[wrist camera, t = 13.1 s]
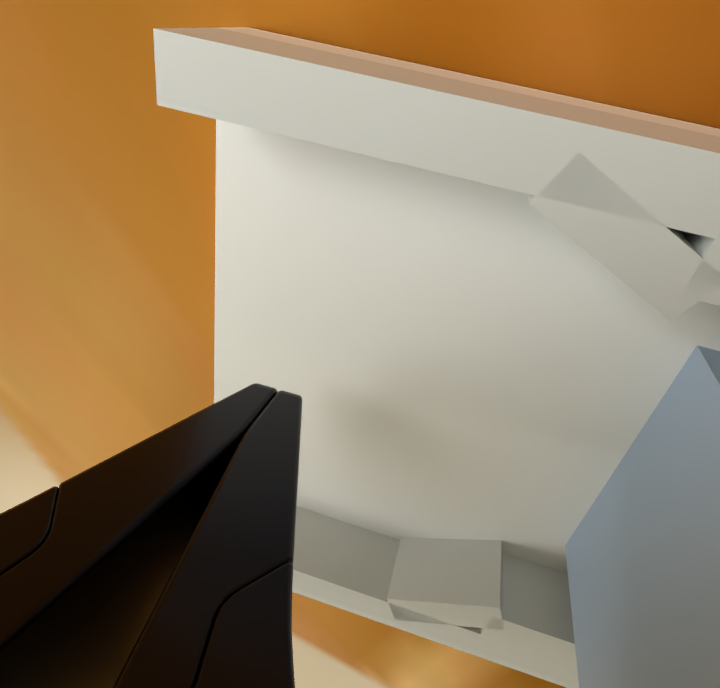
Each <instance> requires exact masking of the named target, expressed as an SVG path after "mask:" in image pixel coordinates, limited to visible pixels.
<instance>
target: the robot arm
mask: <svg viewBox="0 0 720 688" xmlns="http://www.w3.org/2000/svg"><path fill="white" fill-rule="evenodd" d="M301 417H302V397H301V396H300V395H297V394H294V393H290V392H287V391H283V390H281V391H277V390H276V389H275V388H273V387H269V386H266V385H262V384H259V383H254V384H251V385H249V386H247V387H245V388H244V389H242V390H240V391H238V392H236V393H234V394H232V395H230V396H228V397H226V398H224V399H222V400H220V401H218V402H217V403H215V404H213V405H211V406H209V407H207V408H205V409H203V410H201V411H199V412H197V413H195V414H193V415H191V416H190V417H188V418H186V419H184V420H182V421H180V422H178V423H176V424H174V425H172V426H170V427H168V428H166V429H164V430H163V431H161V432H159V433H157V434H155V435H153V436H151V437H149V438H147V439H145V440H143V441H141V442H139V443H137V444H136V445H134V446H132V447H130V448H128V449H126V450H124V451H122V452H120V453H118V454H116V455H114V456H112V457H110V458H109V459H107V460H105V461H103V462H101V463H99V464H97V465H95V466H93V467H91V468H89V469H87V470H85V471H83V472H82V473H80V474H78V475H76V476H74V477H72V478H70V479H68V480H66V481H64V482H62V483H61V484H60V486H59V488H58V487H52V488H50V489H48V490H47V491H44V492H43V493H41V494H39V495H37V496H35V497H33V498H31V499H29V500H27V501H25V502H23V503H21V504H19V505H17V506H15V507H13V508H11V509H9V510H7V511H5V512H3V513H1V514H0V688H295V682H294V667H293V649H292V630H291V628H292V584H293V560H294V543H295V525H296V507H297V489H298V471H299V453H300V435H301Z"/></svg>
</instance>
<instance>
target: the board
mask: <svg viewBox="0 0 720 688" xmlns="http://www.w3.org/2000/svg"><path fill="white" fill-rule="evenodd" d="M153 34H154V53H155V72H156V91H157V105H159V106H164V107H168V108H172V109H176V110H180V111H184V112H189V113H193V114H197V115H201V116H205V117H209V118H214V119H216V221H215V352H214V404H215V403H217V402H218V401H220V400H222V399H224V398H226V397H228V396H230V395H232V394H234V393H236V392H238V391H240V390H242V389H244V388H245V387H247V386H249V385H251V384H254V383H259V384H262V385H266V386H269V387H273V388H275V389H276V390H277V391H281V390H283V391H287V392H290V393H294V394H297V395H300V396H301V397H302V417H301V435H300V453H299V471H298V489H297V507H296V525H295V543H294V560H293V584H292V592H294V593H297V594H300V595H303V596H306V597H309V598H312V599H314V600H317V601H320V602H323V603H326V604H329V605H332V606H334V607H337V608H340V609H343V610H346V611H349V612H352V613H354V614H357V615H360V616H363V617H366V618H369V619H372V620H374V621H377V622H380V623H383V624H386V625H389V626H392V627H394V628H397V629H400V630H403V631H406V632H409V633H412V634H415V635H417V636H420V637H423V638H426V639H429V640H432V641H435V642H437V643H440V644H443V645H446V646H449V647H452V648H455V649H457V650H460V651H463V652H466V653H469V654H472V655H475V656H477V657H480V658H483V659H486V660H489V661H492V662H495V663H497V664H500V665H503V666H506V667H509V668H512V669H515V670H517V671H520V672H523V673H526V674H529V675H532V676H535V677H537V678H540V679H543V680H546V681H549V682H552V683H555V684H557V685H560V686H563V687H566V688H579V681H578V671H577V661H576V651H575V641H574V630H573V620H572V610H571V600H570V590H569V580H568V570H567V560H566V549H565V545H566V544H567V542H568V541H569V539H570V537H571V536H572V534H573V533H574V531H575V530H576V528H577V527H578V525H579V524H580V522H581V521H582V519H583V518H584V516H585V515H586V513H587V512H588V510H589V509H590V507H591V506H592V504H593V503H594V501H595V499H596V498H597V496H598V495H599V493H600V492H601V490H602V489H603V487H604V486H605V484H606V483H607V481H608V480H609V478H610V477H611V475H612V474H613V472H614V471H615V469H616V468H617V466H618V464H619V463H620V461H621V460H622V458H623V457H624V455H625V454H626V452H627V451H628V449H629V448H630V446H631V445H632V443H633V442H634V440H635V439H636V437H637V436H638V434H639V433H640V431H641V430H642V428H643V426H644V425H645V423H646V422H647V420H648V419H649V417H650V416H651V414H652V413H653V411H654V410H655V408H656V407H657V405H658V404H659V402H660V401H661V399H662V398H663V396H664V395H665V393H666V391H667V390H668V388H669V387H670V385H671V384H672V382H673V381H674V379H675V378H676V376H677V375H678V373H679V372H680V370H681V369H682V367H683V366H684V364H685V363H686V361H687V360H688V358H689V356H690V355H691V353H692V352H693V350H694V349H695V347H696V346H697V345H698V346H702V347H706V348H710V349H713V350H717V351H720V129H718V128H713V127H709V126H704V125H700V124H695V123H690V122H686V121H681V120H676V119H672V118H667V117H662V116H658V115H653V114H648V113H644V112H639V111H635V110H630V109H625V108H621V107H616V106H611V105H607V104H602V103H597V102H593V101H588V100H584V99H579V98H574V97H570V96H565V95H560V94H556V93H551V92H546V91H542V90H537V89H532V88H528V87H523V86H519V85H514V84H509V83H505V82H500V81H495V80H491V79H486V78H481V77H477V76H472V75H468V74H463V73H458V72H454V71H449V70H444V69H440V68H435V67H430V66H426V65H421V64H416V63H412V62H407V61H403V60H398V59H393V58H389V57H384V56H379V55H375V54H370V53H365V52H361V51H356V50H351V49H347V48H342V47H338V46H333V45H328V44H324V43H319V42H314V41H310V40H305V39H300V38H296V37H291V36H287V35H282V34H277V33H273V32H268V31H263V30H259V29H254V28H249V27H225V28H153Z"/></svg>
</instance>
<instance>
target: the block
mask: <svg viewBox="0 0 720 688" xmlns="http://www.w3.org/2000/svg"><path fill="white" fill-rule="evenodd" d="M565 549H566V560H567V570H568V580H569V590H570V600H571V610H572V620H573V630H574V641H575V651H576V661H577V671H578V681H579V688H720V351H717V350H713V349H710V348H706V347H702V346H698V345H697V346H696V347H695V349H694V350H693V352H692V353H691V355H690V356H689V358H688V360H687V361H686V363H685V364H684V366H683V367H682V369H681V370H680V372H679V373H678V375H677V376H676V378H675V379H674V381H673V382H672V384H671V385H670V387H669V388H668V390H667V391H666V393H665V395H664V396H663V398H662V399H661V401H660V402H659V404H658V405H657V407H656V408H655V410H654V411H653V413H652V414H651V416H650V417H649V419H648V420H647V422H646V423H645V425H644V426H643V428H642V430H641V431H640V433H639V434H638V436H637V437H636V439H635V440H634V442H633V443H632V445H631V446H630V448H629V449H628V451H627V452H626V454H625V455H624V457H623V458H622V460H621V461H620V463H619V464H618V466H617V468H616V469H615V471H614V472H613V474H612V475H611V477H610V478H609V480H608V481H607V483H606V484H605V486H604V487H603V489H602V490H601V492H600V493H599V495H598V496H597V498H596V499H595V501H594V503H593V504H592V506H591V507H590V509H589V510H588V512H587V513H586V515H585V516H584V518H583V519H582V521H581V522H580V524H579V525H578V527H577V528H576V530H575V531H574V533H573V534H572V536H571V537H570V539H569V541H568V542H567V544H566V545H565Z"/></svg>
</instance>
